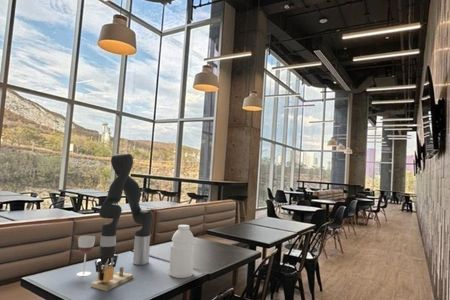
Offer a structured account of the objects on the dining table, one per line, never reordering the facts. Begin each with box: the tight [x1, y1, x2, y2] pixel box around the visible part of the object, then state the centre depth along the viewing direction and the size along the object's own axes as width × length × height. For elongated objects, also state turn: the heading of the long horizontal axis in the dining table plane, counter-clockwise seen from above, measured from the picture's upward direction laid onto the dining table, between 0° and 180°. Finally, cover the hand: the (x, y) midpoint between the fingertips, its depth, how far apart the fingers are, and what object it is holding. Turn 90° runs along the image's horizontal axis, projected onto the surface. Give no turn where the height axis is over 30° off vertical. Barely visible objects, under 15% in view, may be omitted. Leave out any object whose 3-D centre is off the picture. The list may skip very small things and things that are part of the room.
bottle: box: [168, 224, 196, 279], centre depth 179 cm, size 14×14×28 cm
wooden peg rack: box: [90, 266, 134, 292], centre depth 160 cm, size 20×10×6 cm, turn 159°
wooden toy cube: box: [96, 266, 115, 282], centre depth 155 cm, size 5×5×6 cm
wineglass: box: [76, 235, 96, 277], centre depth 171 cm, size 8×9×20 cm
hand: (105, 278), depth 155 cm, fingers closed on wooden toy cube, 4 cm apart
